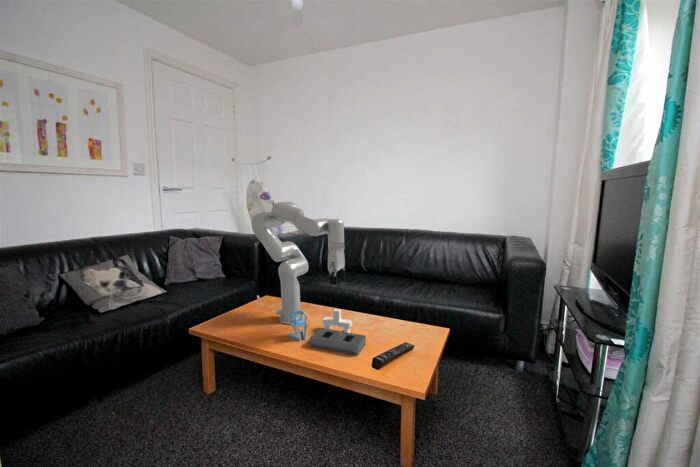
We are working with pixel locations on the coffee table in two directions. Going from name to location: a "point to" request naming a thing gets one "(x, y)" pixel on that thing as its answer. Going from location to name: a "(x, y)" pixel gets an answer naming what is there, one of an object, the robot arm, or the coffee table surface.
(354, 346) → the slotted plate
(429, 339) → the coffee table surface
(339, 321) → the white stepped block
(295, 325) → the chair
